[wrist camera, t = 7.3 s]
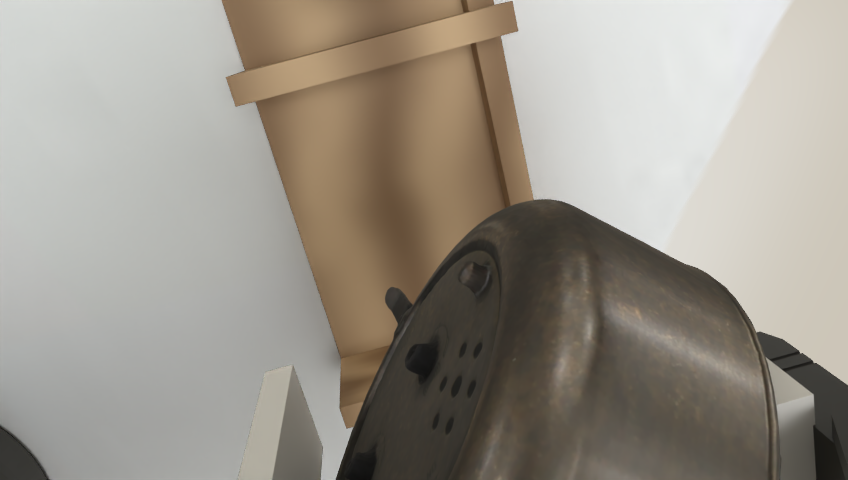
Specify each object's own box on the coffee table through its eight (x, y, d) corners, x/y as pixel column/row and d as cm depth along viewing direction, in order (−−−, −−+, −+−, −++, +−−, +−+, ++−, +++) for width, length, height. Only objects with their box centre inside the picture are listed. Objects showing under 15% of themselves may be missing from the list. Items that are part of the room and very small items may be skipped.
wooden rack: (347, 366, 37) (346, 428, 31) (121, -318, 27) (55, -418, 21) (545, 310, 37) (582, 362, 32) (400, -387, 27) (414, -506, 21)
